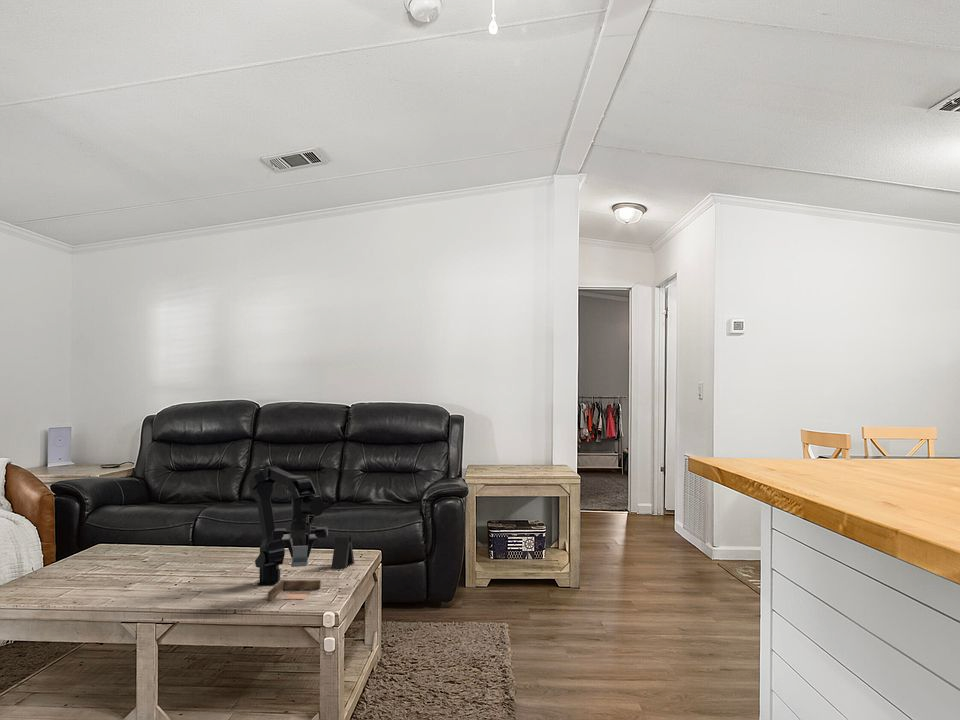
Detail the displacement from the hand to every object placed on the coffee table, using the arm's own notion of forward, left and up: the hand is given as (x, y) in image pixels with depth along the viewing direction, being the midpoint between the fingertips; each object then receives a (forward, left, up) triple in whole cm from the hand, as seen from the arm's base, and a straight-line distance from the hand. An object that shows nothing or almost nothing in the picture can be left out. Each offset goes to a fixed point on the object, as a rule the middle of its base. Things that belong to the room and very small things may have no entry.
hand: (300, 557), depth 238 cm
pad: (0, -4, -12) cm, 13 cm away
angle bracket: (0, -2, -2) cm, 3 cm away
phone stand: (+7, +36, -12) cm, 39 cm away
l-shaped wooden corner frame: (-1, -3, -12) cm, 13 cm away
